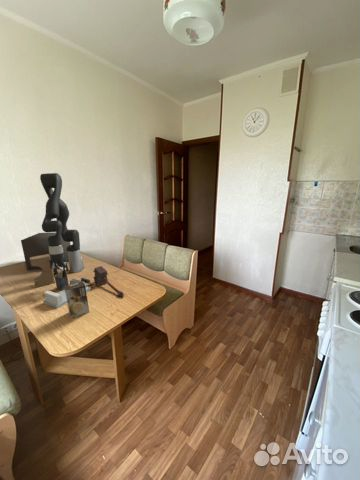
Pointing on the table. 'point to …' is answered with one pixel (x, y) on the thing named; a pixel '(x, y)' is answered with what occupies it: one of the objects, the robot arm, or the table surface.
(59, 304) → the vise base
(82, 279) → the free jaw
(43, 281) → the decorative block
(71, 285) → the coffee box
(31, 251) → the dark grey angular block
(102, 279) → the hammer
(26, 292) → the table surface
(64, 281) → the steel block
